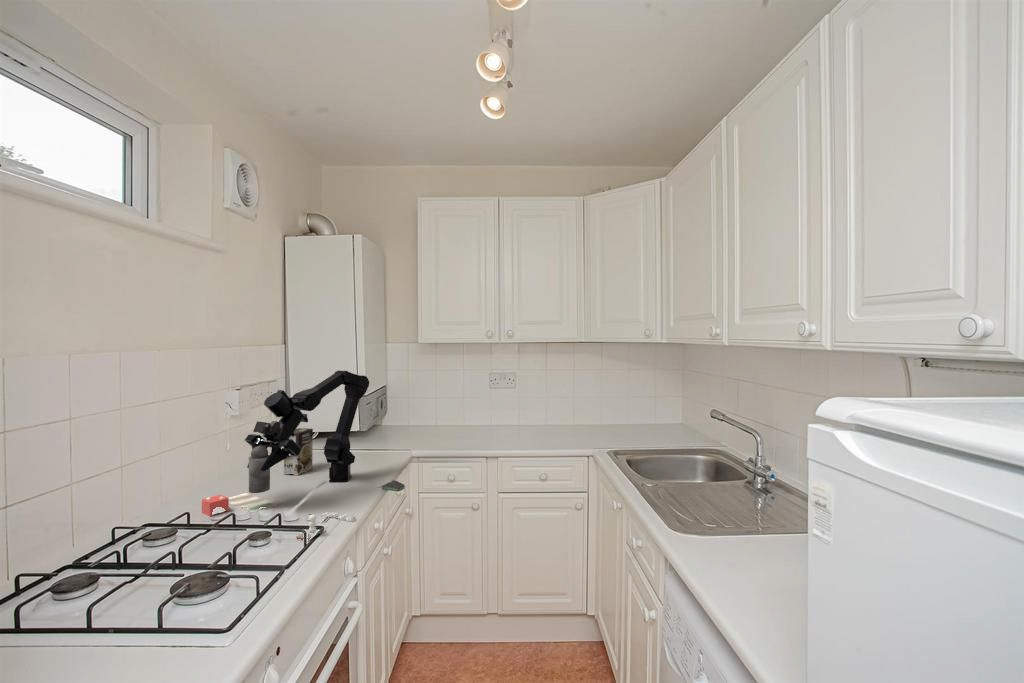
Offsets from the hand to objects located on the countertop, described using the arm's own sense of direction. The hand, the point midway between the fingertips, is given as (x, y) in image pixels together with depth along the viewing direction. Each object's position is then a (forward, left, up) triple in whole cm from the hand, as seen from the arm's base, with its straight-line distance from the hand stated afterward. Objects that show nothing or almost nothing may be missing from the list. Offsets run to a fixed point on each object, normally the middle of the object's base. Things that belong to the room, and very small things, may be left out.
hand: (255, 469), depth 137 cm
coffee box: (+3, -41, -13) cm, 43 cm away
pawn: (-1, -1, -7) cm, 7 cm away
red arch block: (+10, +3, -13) cm, 16 cm away
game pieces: (-28, -2, -13) cm, 31 cm away
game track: (+4, -5, -13) cm, 14 cm away
